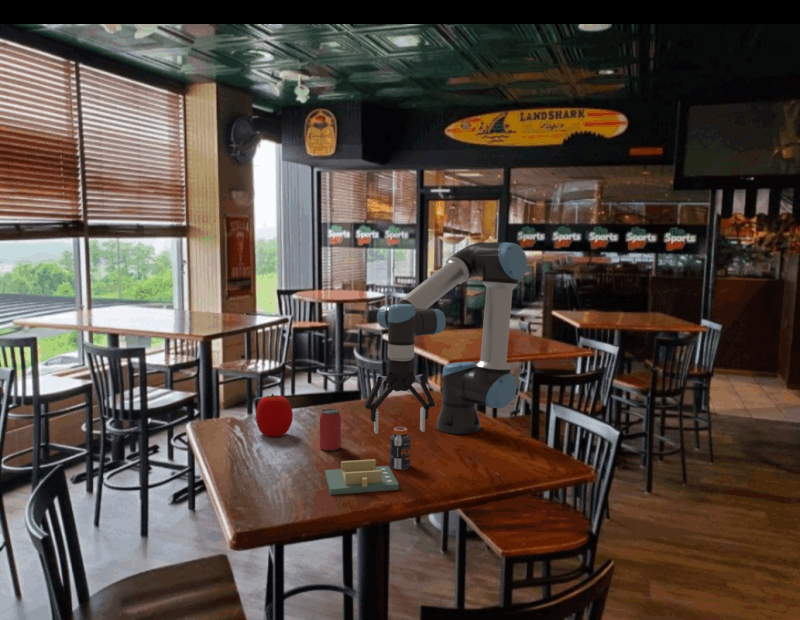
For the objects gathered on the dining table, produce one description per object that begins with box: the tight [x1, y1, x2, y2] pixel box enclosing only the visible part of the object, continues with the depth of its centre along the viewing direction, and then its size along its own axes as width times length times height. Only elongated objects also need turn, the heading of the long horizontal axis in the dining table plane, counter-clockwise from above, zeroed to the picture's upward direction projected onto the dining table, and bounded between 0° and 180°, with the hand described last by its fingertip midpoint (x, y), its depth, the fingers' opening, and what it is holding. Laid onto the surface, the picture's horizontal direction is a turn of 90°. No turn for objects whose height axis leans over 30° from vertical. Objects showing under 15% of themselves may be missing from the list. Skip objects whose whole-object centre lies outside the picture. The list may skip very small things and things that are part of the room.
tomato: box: [255, 393, 294, 438], centre depth 215 cm, size 13×11×14 cm
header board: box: [324, 458, 400, 496], centre depth 175 cm, size 18×14×4 cm
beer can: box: [319, 408, 342, 452], centre depth 202 cm, size 7×7×12 cm
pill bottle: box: [389, 426, 412, 470], centre depth 187 cm, size 6×6×11 cm
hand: (399, 431), depth 186 cm, fingers open, 13 cm apart
